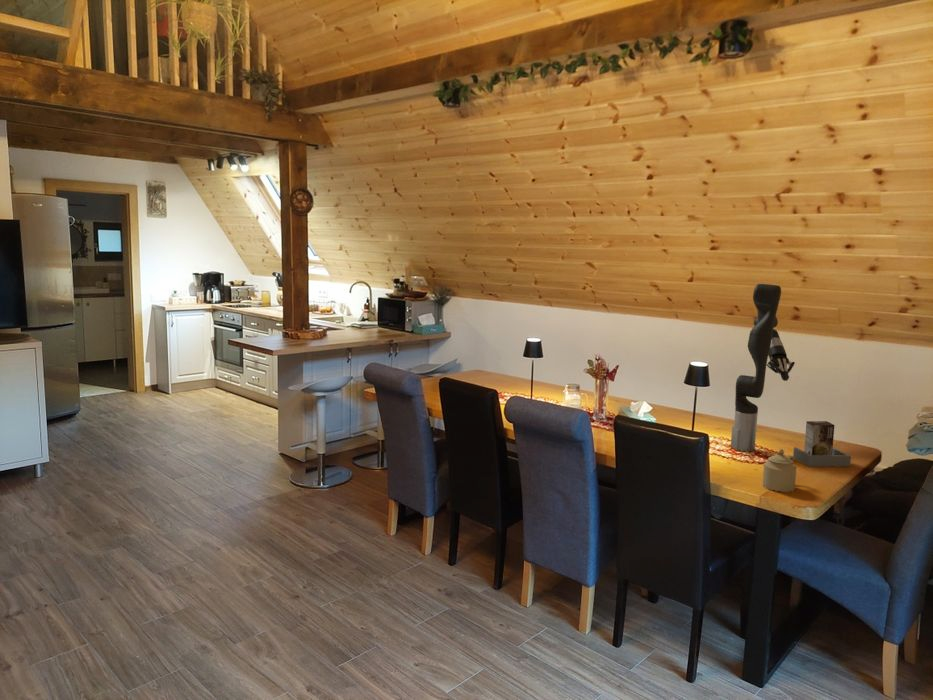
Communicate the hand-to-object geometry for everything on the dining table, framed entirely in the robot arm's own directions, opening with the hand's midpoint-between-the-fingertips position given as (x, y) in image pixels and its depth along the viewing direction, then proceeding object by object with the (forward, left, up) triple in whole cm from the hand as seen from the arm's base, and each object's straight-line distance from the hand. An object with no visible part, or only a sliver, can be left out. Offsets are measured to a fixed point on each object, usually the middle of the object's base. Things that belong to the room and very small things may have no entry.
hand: (786, 379), depth 303 cm
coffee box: (+3, -24, -30) cm, 39 cm away
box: (+3, -28, -30) cm, 41 cm away
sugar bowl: (-30, -57, -30) cm, 71 cm away
